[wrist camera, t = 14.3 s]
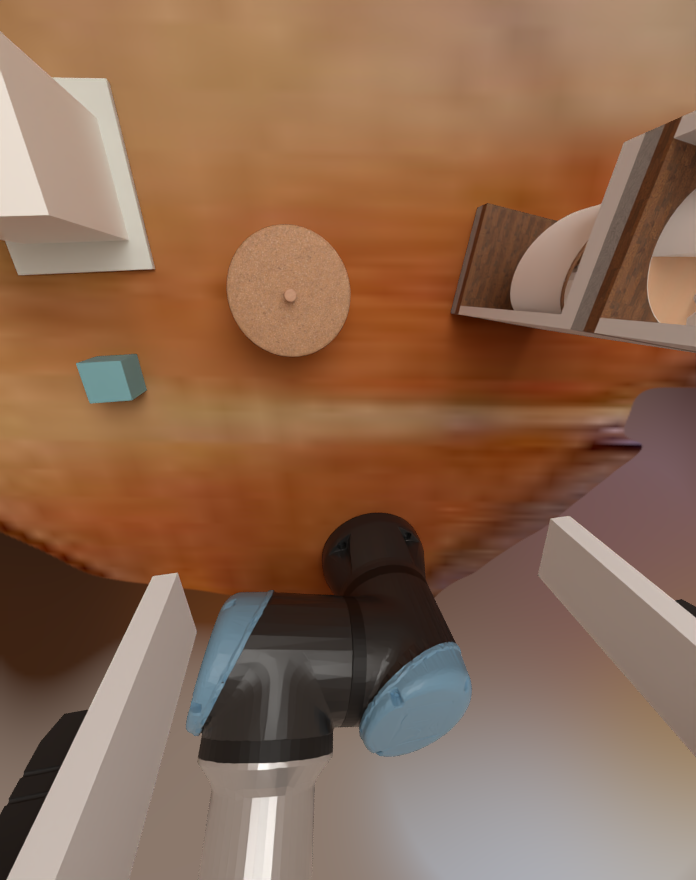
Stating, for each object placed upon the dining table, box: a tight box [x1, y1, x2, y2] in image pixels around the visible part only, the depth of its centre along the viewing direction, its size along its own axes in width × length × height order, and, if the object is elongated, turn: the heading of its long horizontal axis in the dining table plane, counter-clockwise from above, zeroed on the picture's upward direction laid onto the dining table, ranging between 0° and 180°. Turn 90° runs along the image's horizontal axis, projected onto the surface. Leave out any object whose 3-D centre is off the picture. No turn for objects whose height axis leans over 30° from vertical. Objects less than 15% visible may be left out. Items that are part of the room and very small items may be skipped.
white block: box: [0, 32, 129, 244], centre depth 25 cm, size 9×9×12 cm
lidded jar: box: [227, 224, 350, 357], centre depth 33 cm, size 11×11×9 cm
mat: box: [5, 78, 155, 275], centre depth 31 cm, size 14×12×1 cm
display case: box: [451, 111, 696, 353], centre depth 24 cm, size 11×11×35 cm
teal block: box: [76, 354, 147, 403], centre depth 36 cm, size 4×4×4 cm
